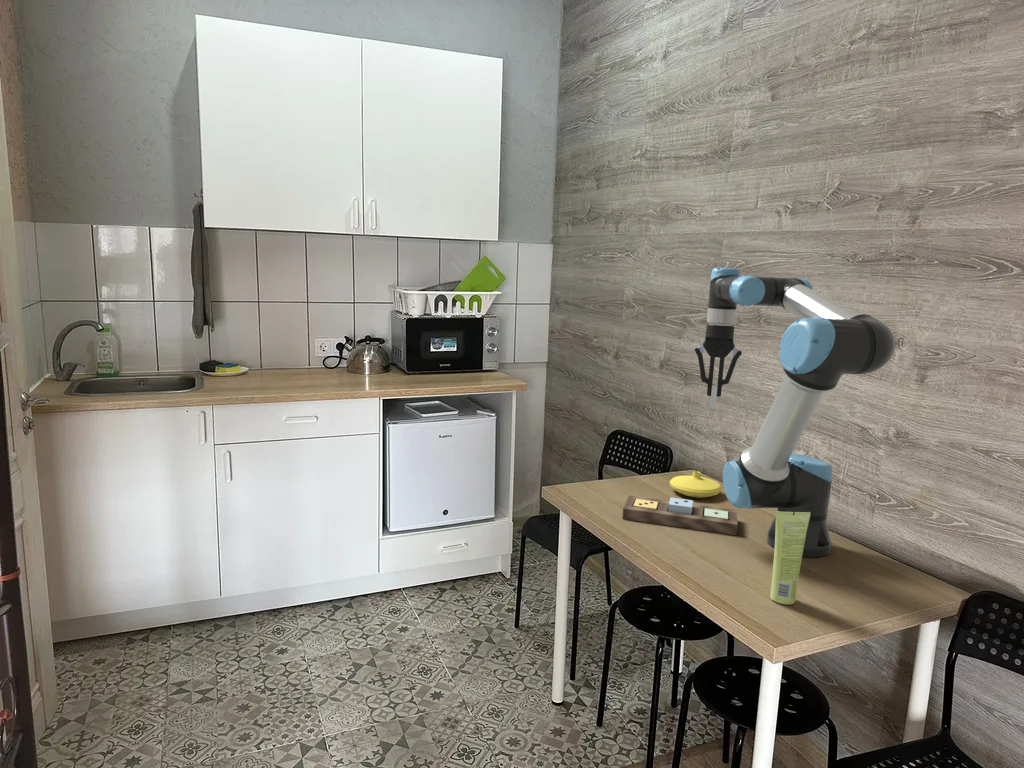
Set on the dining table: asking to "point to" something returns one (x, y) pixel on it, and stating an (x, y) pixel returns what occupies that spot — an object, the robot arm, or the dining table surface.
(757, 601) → the dining table surface
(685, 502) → the tile
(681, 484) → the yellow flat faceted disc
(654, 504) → the tile
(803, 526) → the tube
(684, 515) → the board
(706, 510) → the tile
